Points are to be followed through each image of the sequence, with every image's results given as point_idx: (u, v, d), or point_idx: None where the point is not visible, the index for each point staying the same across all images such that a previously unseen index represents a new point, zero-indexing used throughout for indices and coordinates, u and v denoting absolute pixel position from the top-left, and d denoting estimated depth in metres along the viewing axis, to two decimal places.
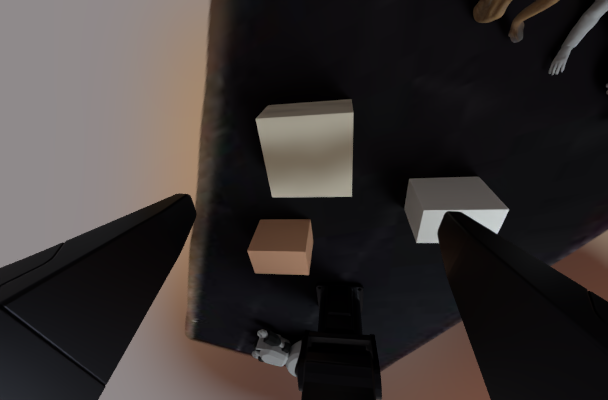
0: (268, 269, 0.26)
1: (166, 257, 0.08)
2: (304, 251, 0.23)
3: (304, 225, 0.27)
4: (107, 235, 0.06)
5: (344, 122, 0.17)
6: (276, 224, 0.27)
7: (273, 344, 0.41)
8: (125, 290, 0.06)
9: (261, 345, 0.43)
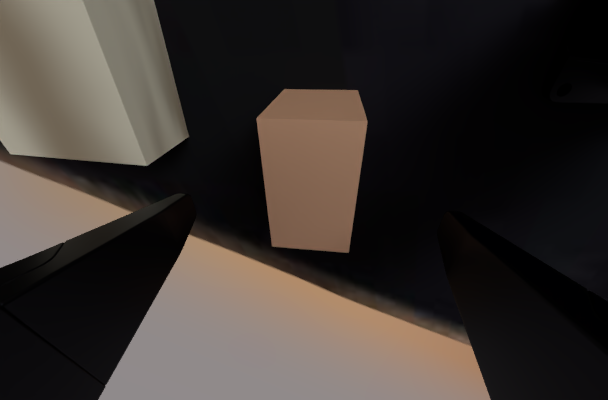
0: (336, 225, 0.10)
1: (166, 257, 0.08)
2: (259, 120, 0.08)
3: None
4: (107, 235, 0.06)
5: None
6: None
7: None
8: (125, 290, 0.06)
9: None
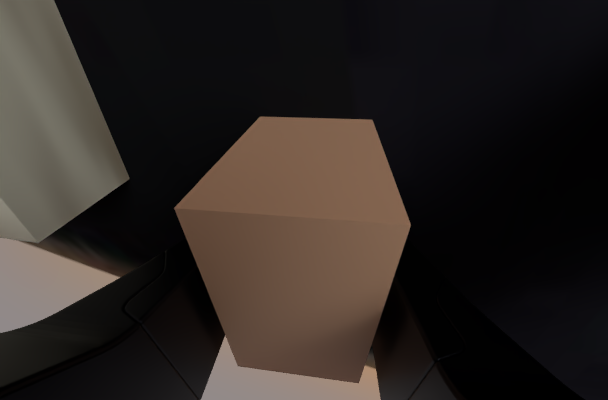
0: (340, 355, 0.06)
1: None
2: (182, 210, 0.04)
3: None
4: None
5: None
6: None
7: None
8: None
9: None
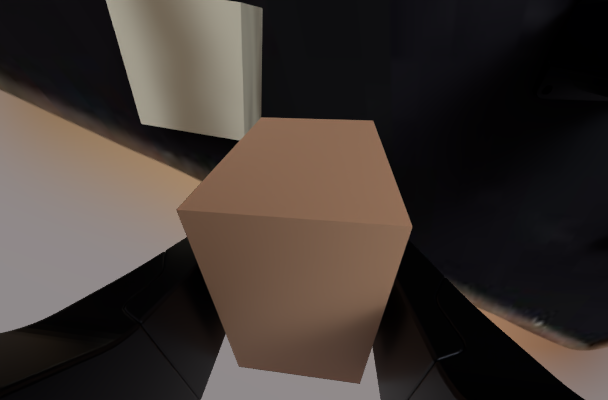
0: (341, 355, 0.06)
1: None
2: (184, 211, 0.04)
3: None
4: None
5: None
6: None
7: None
8: None
9: None
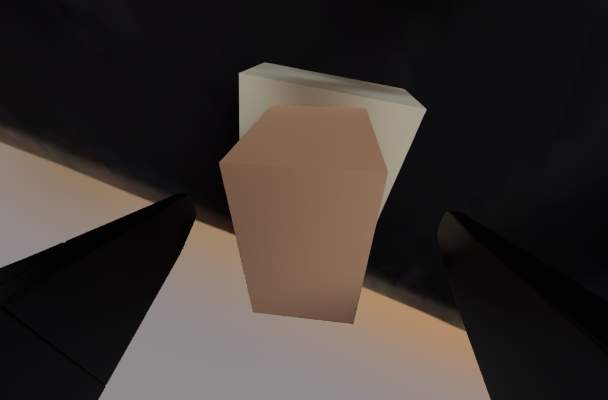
0: (337, 294, 0.07)
1: (166, 257, 0.08)
2: (224, 165, 0.05)
3: None
4: (107, 235, 0.06)
5: (255, 93, 0.09)
6: None
7: None
8: (125, 290, 0.06)
9: None
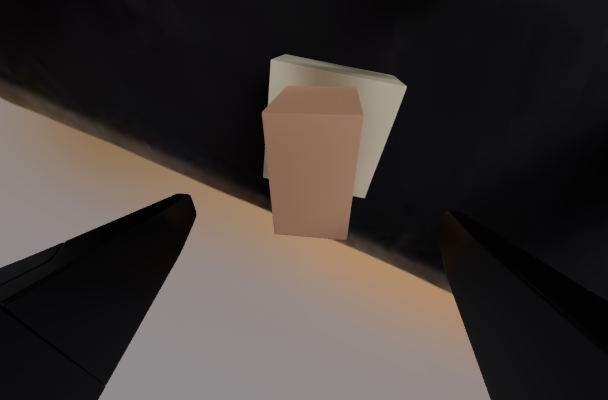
0: (335, 213, 0.11)
1: (166, 257, 0.08)
2: (264, 114, 0.09)
3: None
4: (107, 235, 0.06)
5: (282, 75, 0.12)
6: None
7: None
8: (125, 290, 0.06)
9: None
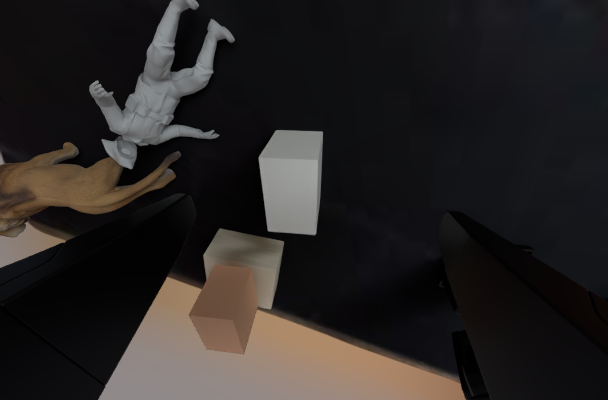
0: (234, 345, 0.21)
1: (166, 257, 0.08)
2: (190, 314, 0.19)
3: None
4: (107, 235, 0.06)
5: (210, 260, 0.23)
6: None
7: None
8: (125, 290, 0.06)
9: None
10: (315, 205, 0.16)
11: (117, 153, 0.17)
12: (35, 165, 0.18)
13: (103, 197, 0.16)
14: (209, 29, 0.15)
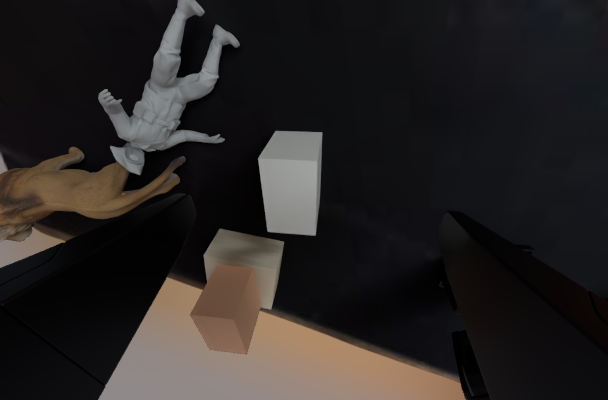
0: (236, 345, 0.21)
1: (166, 257, 0.08)
2: (191, 314, 0.19)
3: None
4: (107, 235, 0.06)
5: (210, 260, 0.23)
6: None
7: None
8: (125, 290, 0.06)
9: None
10: (315, 206, 0.16)
11: (125, 159, 0.17)
12: (42, 170, 0.18)
13: (110, 203, 0.17)
14: (214, 35, 0.15)
